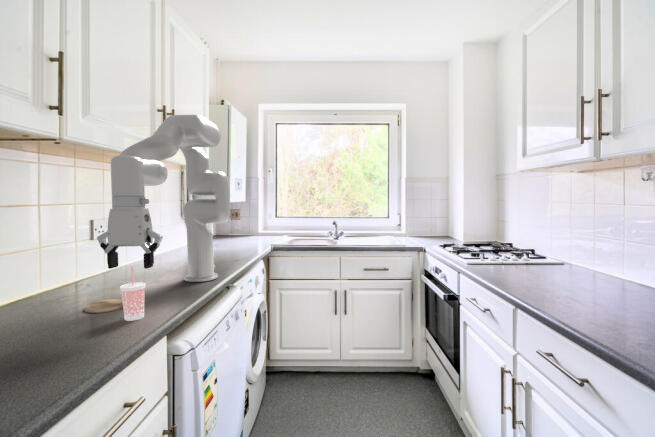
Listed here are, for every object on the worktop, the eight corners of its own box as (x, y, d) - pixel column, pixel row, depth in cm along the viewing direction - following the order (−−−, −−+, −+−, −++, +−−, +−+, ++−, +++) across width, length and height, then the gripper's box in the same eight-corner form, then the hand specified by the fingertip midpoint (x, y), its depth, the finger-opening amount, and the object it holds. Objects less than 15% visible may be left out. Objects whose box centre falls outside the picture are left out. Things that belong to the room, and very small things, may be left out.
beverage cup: (152, 314, 95) (150, 264, 94) (135, 322, 89) (133, 269, 88) (133, 313, 96) (131, 264, 95) (115, 321, 90) (113, 268, 89)
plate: (102, 301, 108) (102, 298, 107) (136, 301, 107) (136, 298, 107) (75, 312, 97) (74, 309, 97) (112, 313, 96) (112, 309, 96)
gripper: (168, 203, 93) (169, 265, 94) (106, 203, 94) (109, 265, 95) (152, 203, 86) (154, 270, 87) (86, 203, 87) (89, 270, 87)
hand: (130, 267), depth 91 cm, fingers open, 9 cm apart
